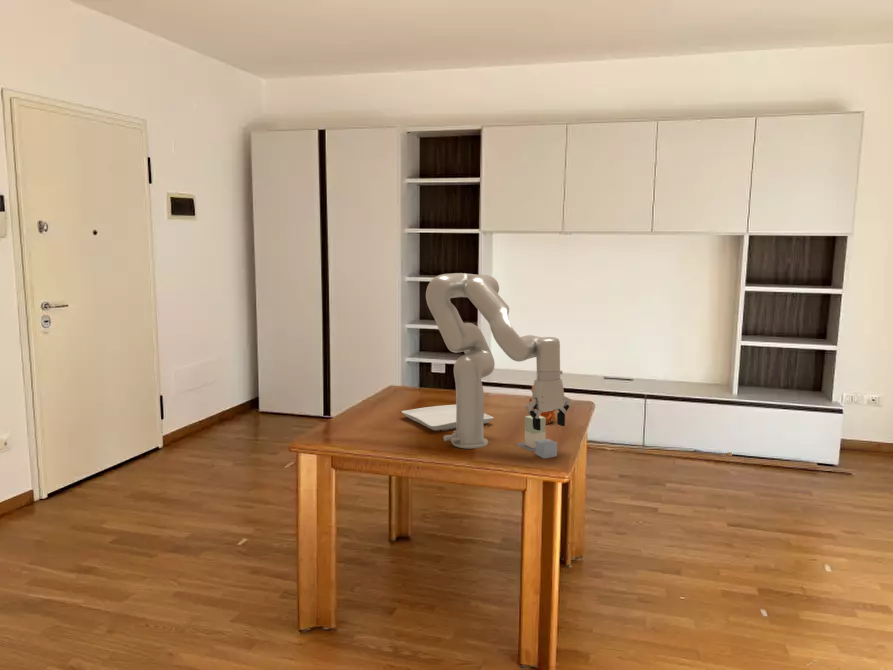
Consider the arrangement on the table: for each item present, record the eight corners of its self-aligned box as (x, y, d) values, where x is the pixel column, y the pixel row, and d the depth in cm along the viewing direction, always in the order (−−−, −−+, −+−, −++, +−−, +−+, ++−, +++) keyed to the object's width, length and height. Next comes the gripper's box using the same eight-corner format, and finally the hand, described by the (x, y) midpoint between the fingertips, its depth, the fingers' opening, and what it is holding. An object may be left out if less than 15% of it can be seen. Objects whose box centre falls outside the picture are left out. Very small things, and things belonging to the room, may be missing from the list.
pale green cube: (533, 434, 235) (533, 419, 234) (524, 430, 239) (525, 416, 239) (545, 432, 237) (545, 417, 237) (536, 428, 242) (536, 414, 241)
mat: (531, 452, 232) (531, 451, 232) (514, 444, 241) (514, 443, 241) (555, 448, 237) (555, 447, 237) (538, 441, 246) (538, 439, 246)
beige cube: (533, 448, 236) (533, 434, 235) (524, 444, 240) (525, 430, 239) (545, 446, 238) (545, 432, 237) (536, 442, 242) (536, 428, 242)
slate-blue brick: (544, 459, 225) (544, 444, 224) (535, 455, 230) (535, 440, 229) (556, 457, 227) (557, 442, 227) (547, 453, 232) (548, 438, 231)
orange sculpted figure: (561, 420, 273) (562, 375, 271) (551, 427, 264) (552, 380, 262) (535, 417, 279) (536, 372, 277) (524, 423, 270) (525, 377, 267)
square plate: (495, 426, 267) (495, 416, 266) (431, 436, 254) (431, 425, 253) (459, 411, 290) (460, 402, 290) (400, 419, 277) (400, 409, 277)
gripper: (562, 371, 232) (563, 421, 234) (519, 376, 224) (520, 429, 226) (577, 374, 225) (577, 426, 227) (533, 380, 217) (533, 434, 219)
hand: (549, 427), depth 227 cm, fingers open, 9 cm apart
